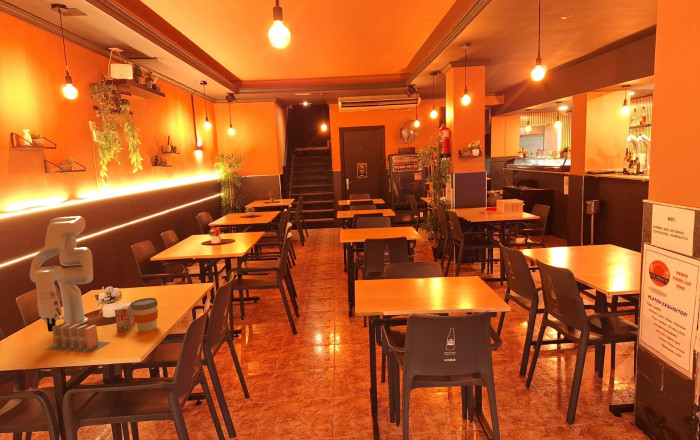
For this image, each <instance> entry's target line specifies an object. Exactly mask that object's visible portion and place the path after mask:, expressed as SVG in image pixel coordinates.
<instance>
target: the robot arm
mask: <svg viewBox="0 0 700 440" xmlns="http://www.w3.org/2000/svg"><path fill="white" fill-rule="evenodd" d="M85 228H86V219H85V218H84V217H83V216H81V215H77V216H75V215H74V216H63V217H62V216H61V217H55V218H52V219H50V221H49V225H48V226H47V229H46V233H45V234H46V235H45V240H44V242H45V243H44V247H43V249H41V250H40V251H39V252H38V253H37V254H36V255H35V256H34V258H33V259H32V261H31V262H30V263H31V264H30V270H29V277H30V278H29V279H30V280H31V282H33V283H35V287H36V293H37V311H38V312H37V313H38V316H39V317H40V319H41V320H43V321H44V322H45V324H46V325H47V326H46V327H47V332H49V333H50V332H52V333H53V331H52V327H53V326H55V325H57V324H56V322H57V321H58V320H63V322H62V323H63V324H64V325H67V324H71V325H72V326H74V325H76V324H80V325H84V324H85V323H87V322H88V321H89V319H88V317H86V316H85V312H84V305H83V303H84V302H83V297H82V292H81V289H80V288H79V286H78V285H84V284H85V285H86V284H90V283H92V281H93V280H94V265H93V254H92V253H93V252H92V251H91V249H90V248H89V247H85V246H84V247H78V246H77V238H76V237H78V236H79V235H80V234H81V233H82V232H84V231H85ZM55 256H58V257H59V258H58V259H59V264H60V265H50V266H42V264H44V263H45V262H46V261H47V260H49V259H51V258H53V257H55ZM62 266H67V268H63V267H62ZM68 266H74V267H68ZM75 266H76V267H75ZM55 282H57V284H58V287H59V291H60V295H61V302H60V300H59V297H58V296H57V291H56V285H55ZM61 303H62V306H61ZM62 309H63V310H62Z"/></svg>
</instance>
